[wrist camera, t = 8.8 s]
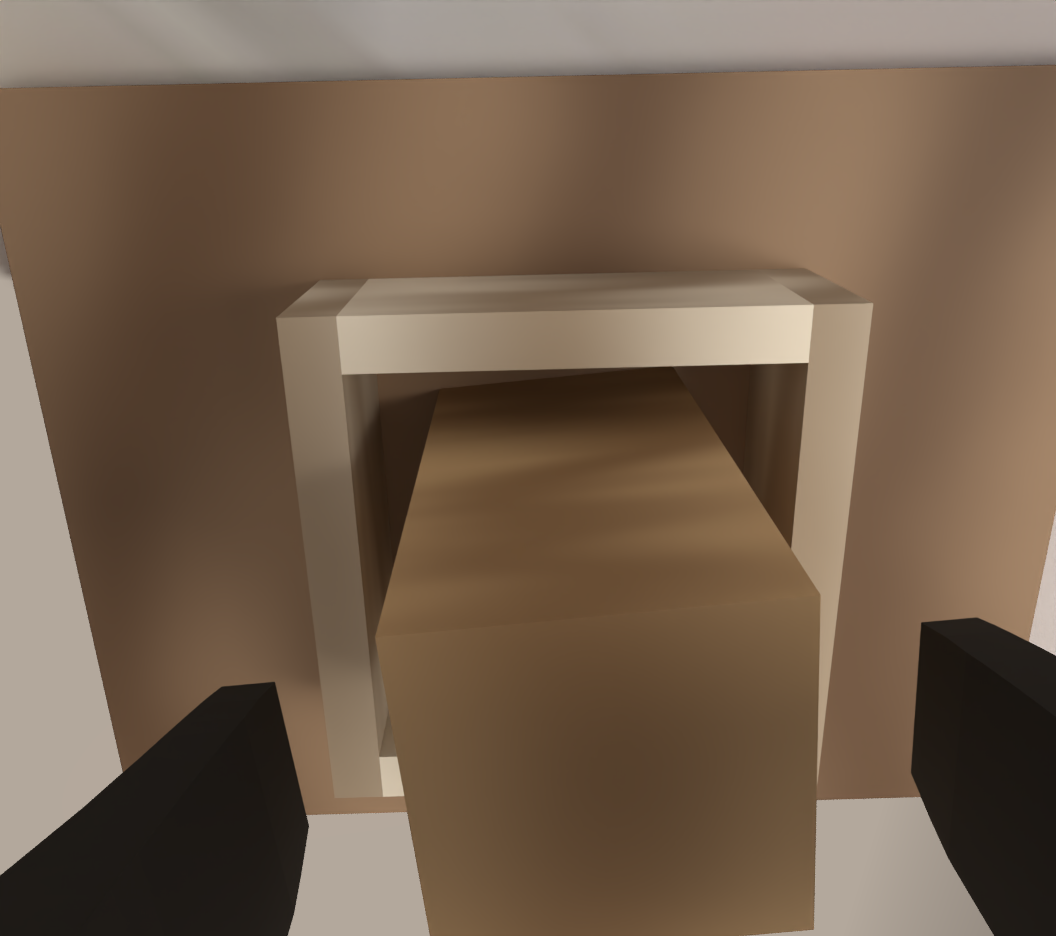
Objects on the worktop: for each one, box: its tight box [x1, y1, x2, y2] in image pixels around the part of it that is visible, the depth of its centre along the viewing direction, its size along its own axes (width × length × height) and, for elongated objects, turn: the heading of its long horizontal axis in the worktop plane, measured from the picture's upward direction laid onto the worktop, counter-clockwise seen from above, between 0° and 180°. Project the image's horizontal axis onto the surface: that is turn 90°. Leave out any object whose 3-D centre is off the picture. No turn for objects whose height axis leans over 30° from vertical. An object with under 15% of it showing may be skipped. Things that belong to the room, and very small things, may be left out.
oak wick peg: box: [375, 366, 821, 936], centre depth 13 cm, size 4×4×8 cm
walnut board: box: [0, 65, 1056, 815], centre depth 16 cm, size 18×14×4 cm
